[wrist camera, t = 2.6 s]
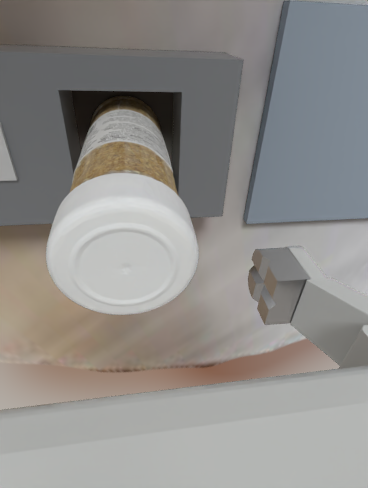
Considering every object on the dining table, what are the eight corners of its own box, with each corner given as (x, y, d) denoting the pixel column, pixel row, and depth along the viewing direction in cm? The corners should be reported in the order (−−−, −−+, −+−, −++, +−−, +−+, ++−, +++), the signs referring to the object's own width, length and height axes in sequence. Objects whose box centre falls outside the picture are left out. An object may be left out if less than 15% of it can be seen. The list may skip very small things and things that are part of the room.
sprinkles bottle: (136, 177, 22) (145, 336, 11) (76, 139, 19) (14, 290, 9) (175, 123, 20) (232, 250, 9) (113, 74, 18) (94, 167, 7)
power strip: (-270, 34, 14) (-393, 41, 11) (225, 52, 18) (248, 61, 14) (-152, 203, 20) (-211, 242, 16) (210, 192, 23) (225, 222, 20)
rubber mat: (284, 1, 17) (290, 0, 16) (498, 14, 19) (511, 14, 18) (243, 218, 25) (246, 223, 24) (395, 211, 27) (401, 216, 26)
